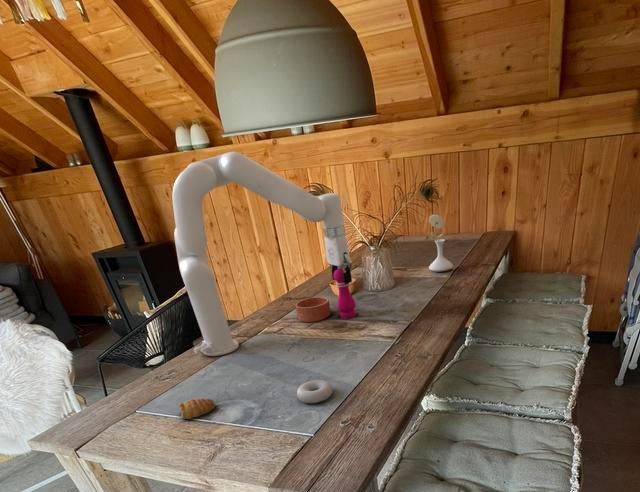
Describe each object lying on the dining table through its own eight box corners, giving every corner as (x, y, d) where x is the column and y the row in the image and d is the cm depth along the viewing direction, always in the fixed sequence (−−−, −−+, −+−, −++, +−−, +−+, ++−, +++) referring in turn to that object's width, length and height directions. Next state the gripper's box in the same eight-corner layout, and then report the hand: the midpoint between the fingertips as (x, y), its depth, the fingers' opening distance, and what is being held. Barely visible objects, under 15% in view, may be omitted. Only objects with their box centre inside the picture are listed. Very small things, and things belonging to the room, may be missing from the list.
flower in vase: (457, 269, 223) (456, 212, 209) (438, 275, 218) (436, 217, 204) (440, 265, 232) (438, 211, 219) (422, 270, 228) (418, 215, 214)
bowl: (314, 324, 180) (311, 309, 177) (291, 320, 187) (288, 305, 184) (337, 313, 188) (335, 298, 185) (315, 309, 196) (312, 295, 192)
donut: (303, 389, 135) (293, 406, 126) (301, 378, 133) (291, 394, 125) (337, 387, 133) (328, 404, 125) (335, 377, 131) (326, 393, 123)
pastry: (213, 401, 134) (208, 390, 132) (218, 411, 129) (213, 399, 127) (179, 412, 131) (175, 401, 129) (183, 422, 126) (178, 410, 124)
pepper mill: (356, 318, 181) (348, 265, 170) (338, 320, 181) (329, 267, 170) (357, 311, 187) (350, 260, 176) (339, 313, 187) (331, 262, 176)
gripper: (313, 232, 171) (322, 280, 181) (338, 236, 159) (346, 287, 169) (331, 228, 175) (338, 275, 184) (356, 231, 162) (363, 282, 172)
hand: (342, 280), depth 176 cm, fingers open, 7 cm apart
